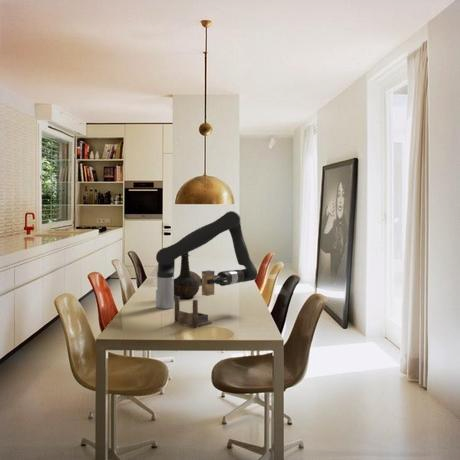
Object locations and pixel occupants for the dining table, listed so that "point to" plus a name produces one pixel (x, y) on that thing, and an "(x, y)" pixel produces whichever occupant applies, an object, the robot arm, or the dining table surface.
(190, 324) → the board
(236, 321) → the dining table surface
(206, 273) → the brown wooden block
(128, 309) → the dining table surface
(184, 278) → the glass bottle
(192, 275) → the decorative dome
